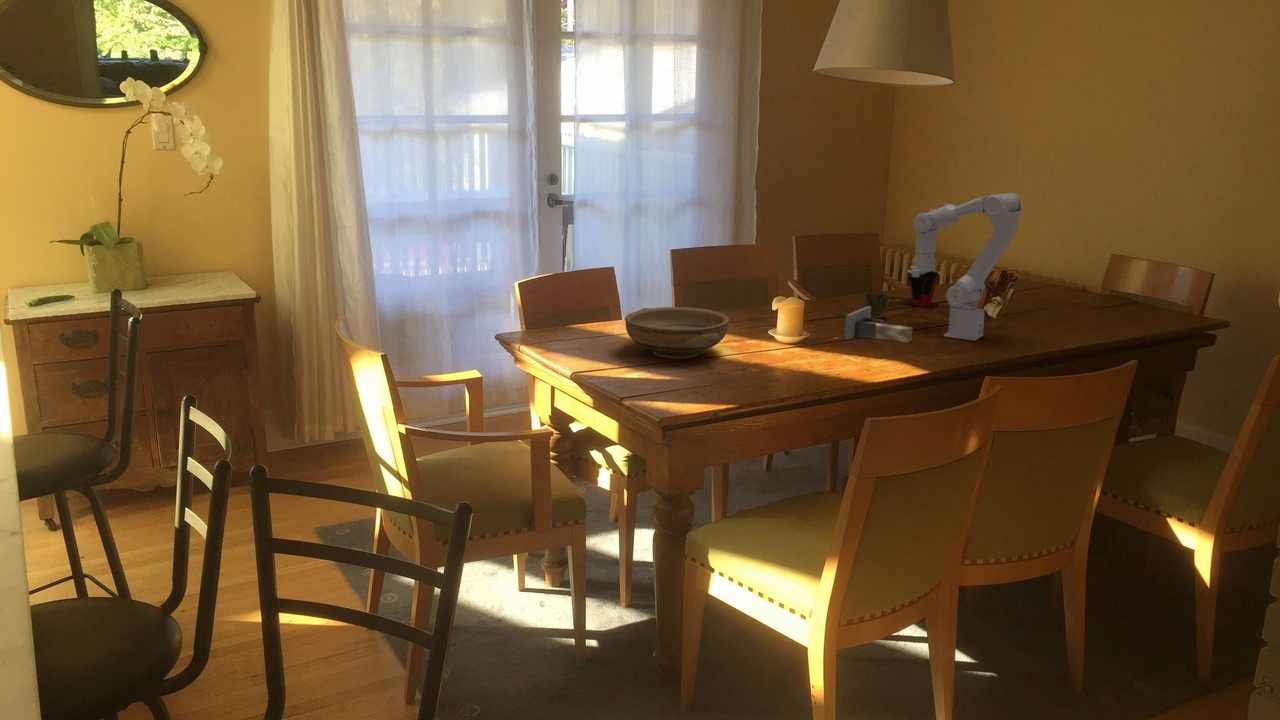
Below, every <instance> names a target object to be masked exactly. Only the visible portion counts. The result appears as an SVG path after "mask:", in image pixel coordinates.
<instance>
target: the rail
mask: <svg viewBox="0 0 1280 720" xmlns="http://www.w3.org/2000/svg"><path fill="white" fill-rule="evenodd" d="M868 323H874V322H868ZM875 324H876V331H875V339H878V340H888V341H892V342H900V343H910V342H911V341H912V339H913V327H910V326H903V325H895V324H889V323H884V324H881V323H875Z"/></svg>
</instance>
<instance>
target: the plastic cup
mask: <svg viewBox="0 0 1280 720" xmlns="http://www.w3.org/2000/svg"><path fill="white" fill-rule="evenodd" d="M912 270H913V269H908V270H907V273H908V276H909V275H912ZM933 272H938V276H937V277H936V279H935V281H934V284H933V286H932V290H931V293H930V295H929V296H927V295H922V298H921V300H917V299H914V298H913V293H912V287H911V284H910V283H909V286H910V295H911V302H912V303H911V304H912V306H913V307H917V308H930V307H931V304H932V300H933V297H934V294H935V290H936V286H937V282H938V280H939V277H940V275H941V274H942V273H941V272H940V271H933Z"/></svg>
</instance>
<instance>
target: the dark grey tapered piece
mask: <svg viewBox="0 0 1280 720" xmlns="http://www.w3.org/2000/svg"><path fill="white" fill-rule="evenodd" d="M889 297H890V295H889V294H888V293H884V292H882V291H881V292H877V291H876V293H875V294H874V293H873V292H870V291H868V292H865V293H864V304H865V305H864V307H867V306H871V318H874V319H882V314H884V313H885V311H886V310H887V306H888V302H889V301H888V300H889Z"/></svg>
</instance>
